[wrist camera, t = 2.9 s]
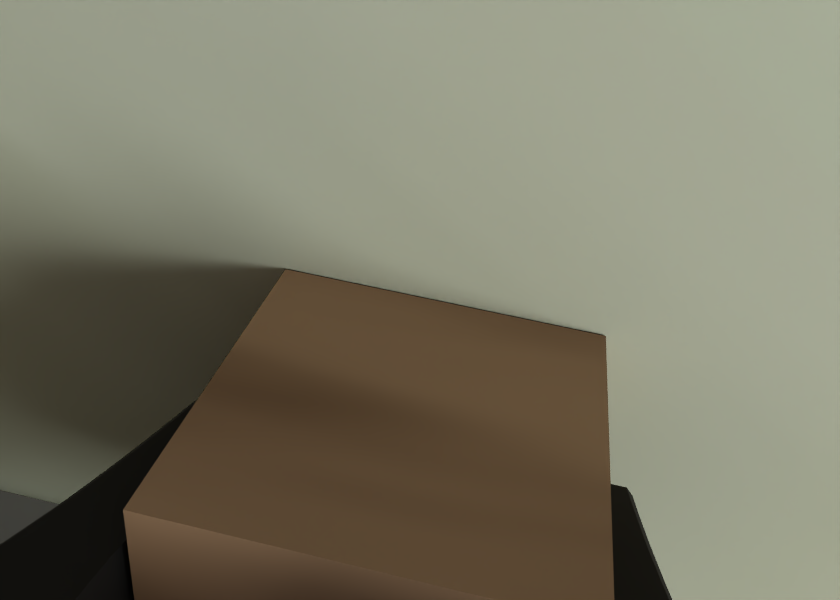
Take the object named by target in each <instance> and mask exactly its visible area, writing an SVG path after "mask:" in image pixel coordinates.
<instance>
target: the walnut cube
mask: <svg viewBox="0 0 840 600" xmlns="http://www.w3.org/2000/svg"><path fill="white" fill-rule="evenodd" d="M123 513H124V521H125V529H126V537H127V545H128V553H129V561H130V569H131V577H132V585H133V593H134V600H614V574H613V544H612V514H611V483H610V453H609V423H608V392H607V362H606V336H603V335H598V334H593V333H588V332H584V331H579V330H574V329H569V328H564V327H560V326H555V325H550V324H545V323H541V322H536V321H531V320H526V319H521V318H517V317H512V316H507V315H502V314H497V313H493V312H488V311H483V310H478V309H474V308H469V307H464V306H459V305H454V304H450V303H445V302H440V301H435V300H430V299H426V298H421V297H416V296H411V295H406V294H402V293H397V292H392V291H387V290H383V289H378V288H373V287H368V286H363V285H359V284H354V283H349V282H344V281H339V280H335V279H330V278H325V277H320V276H316V275H311V274H306V273H301V272H296V271H292V270H287V269H285V271H284V272H283V274H282V275H281V277H280V278H279V280H278V281H277V283H276V284H275V285H274V287H273V288H272V290H271V291H270V293H269V294H268V296H267V297H266V299H265V300H264V302H263V303H262V305H261V306H260V308H259V309H258V311H257V312H256V314H255V315H254V317H253V318H252V320H251V321H250V322H249V324H248V325H247V327H246V328H245V330H244V331H243V333H242V334H241V336H240V337H239V339H238V340H237V342H236V343H235V345H234V346H233V348H232V349H231V351H230V352H229V354H228V355H227V357H226V358H225V360H224V361H223V362H222V364H221V365H220V367H219V368H218V370H217V371H216V373H215V374H214V376H213V377H212V379H211V380H210V382H209V383H208V385H207V386H206V388H205V389H204V391H203V392H202V394H201V395H200V397H199V398H198V400H197V401H196V402H195V404H194V405H193V407H192V408H191V410H190V411H189V413H188V414H187V416H186V417H185V419H184V420H183V422H182V423H181V425H180V426H179V428H178V429H177V431H176V432H175V434H174V435H173V437H172V438H171V439H170V441H169V442H168V444H167V445H166V447H165V448H164V450H163V451H162V453H161V454H160V456H159V457H158V459H157V460H156V462H155V463H154V465H153V466H152V468H151V469H150V471H149V472H148V474H147V475H146V477H145V478H144V479H143V481H142V482H141V484H140V485H139V487H138V488H137V490H136V491H135V493H134V494H133V496H132V497H131V499H130V500H129V502H128V503H127V505H126V506H125V508H124V509H123Z"/></svg>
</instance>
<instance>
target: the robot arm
mask: <svg viewBox="0 0 840 600" xmlns="http://www.w3.org/2000/svg"><path fill="white" fill-rule="evenodd" d="M197 400H198V399H197ZM197 400H196V401H197ZM196 401H194V402H193V403H192V404H191V405H189V406H188V407H187V408H186V409H184V410H183V411H182V412H181V413H179V414H178V415H177V416H176V417H174V418H173V419H172V420H171V421H169V422H168V423H167V424H166V425H164V426H163V427H162V428H160V429H159V430H158V431H157V432H155V433H154V434H153V435H152V436H150V437H149V438H148V439H147V440H145V441H144V442H143V443H141V444H140V445H139V446H138V447H136V448H135V449H134V450H132V451H131V452H130V453H129V454H127V455H126V456H125V457H123V458H122V459H121V460H119V461H118V462H117V463H115V464H114V465H113V466H111V467H110V468H109V469H107V470H106V471H104V472H103V473H102V474H100V475H99V476H98V477H96V478H95V479H94V480H92V481H91V482H90V483H88V484H87V485H86V486H84V487H83V488H82V489H80V490H79V491H78V492H76V493H75V494H73V495H72V496H71V497H69V498H68V499H66V500H65V501H63V502H62V503H61V504H59V505H58V506H56V507H55V508H53V509H52V510H50V511H49V512H47V513H46V514H44V515H43V516H41V517H40V518H38V519H37V520H35V521H34V522H32V523H31V524H30V525H28V526H27V527H25V528H24V529H22V530H21V531H19V532H18V533H16V534H15V535H13V536H12V537H10V538H9V539H7V540H6V541H4V542H3V543H1V544H0V600H134V593H133V585H132V577H131V569H130V561H129V553H128V545H127V537H126V529H125V521H124V513H123V509H124V508H125V506H126V505H127V503H128V502H129V500H130V499H131V497H132V496H133V494H134V493H135V491H136V490H137V488H138V487H139V485H140V484H141V482H142V481H143V479H144V478H145V477H146V475H147V474H148V472H149V471H150V469H151V468H152V466H153V465H154V463H155V462H156V460H157V459H158V457H159V456H160V454H161V453H162V451H163V450H164V448H165V447H166V445H167V444H168V442H169V441H170V439H171V438H172V437H173V435H174V434H175V432H176V431H177V429H178V428H179V426H180V425H181V423H182V422H183V420H184V419H185V417H186V416H187V414H188V413H189V411H190V410H191V408H192V407H193V405H194V404H195V402H196ZM611 514H612V544H613V574H614V600H672V598H671V596H670V593H669V591H668V589H667V586H666V584H665V582H664V579H663V577H662V574H661V572H660V569H659V567H658V564H657V562H656V559H655V557H654V554H653V552H652V549H651V547H650V544H649V541H648V539H647V536H646V533H645V531H644V528H643V525H642V522H641V520H640V517H639V514H638V511H637V508H636V505H635V502H634V499H633V496H632V495H631V493H630V492H629V490H628V489H627V488H626V487H622V486H617V485H613V484H611Z"/></svg>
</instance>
